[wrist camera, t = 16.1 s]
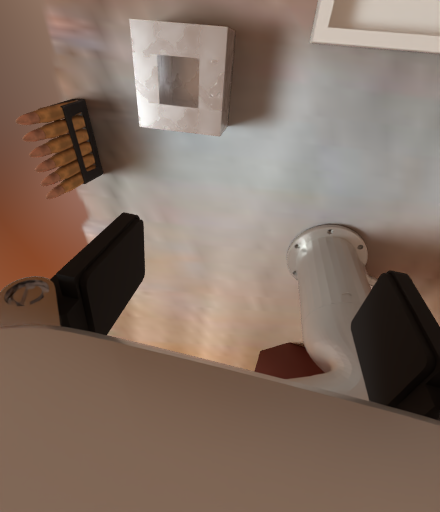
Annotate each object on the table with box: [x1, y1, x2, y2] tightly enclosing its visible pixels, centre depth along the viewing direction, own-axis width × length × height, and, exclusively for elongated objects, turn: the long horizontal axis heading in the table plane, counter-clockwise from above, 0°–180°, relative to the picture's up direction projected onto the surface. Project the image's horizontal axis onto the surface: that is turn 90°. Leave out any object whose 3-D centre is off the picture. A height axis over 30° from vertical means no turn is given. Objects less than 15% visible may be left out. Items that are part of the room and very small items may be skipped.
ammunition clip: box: [16, 99, 103, 199], centre depth 37 cm, size 11×2×12 cm, turn 0°
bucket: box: [255, 343, 325, 379], centre depth 56 cm, size 24×22×25 cm
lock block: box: [129, 19, 235, 136], centre depth 32 cm, size 10×10×6 cm
